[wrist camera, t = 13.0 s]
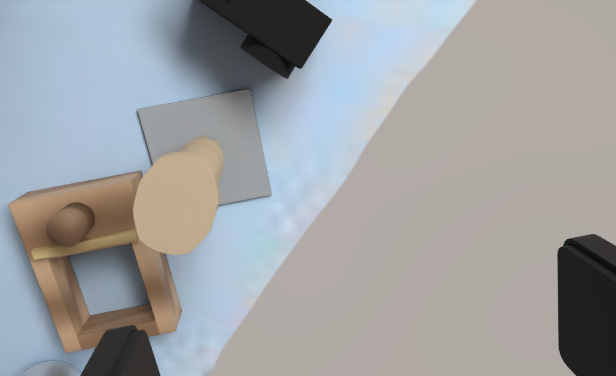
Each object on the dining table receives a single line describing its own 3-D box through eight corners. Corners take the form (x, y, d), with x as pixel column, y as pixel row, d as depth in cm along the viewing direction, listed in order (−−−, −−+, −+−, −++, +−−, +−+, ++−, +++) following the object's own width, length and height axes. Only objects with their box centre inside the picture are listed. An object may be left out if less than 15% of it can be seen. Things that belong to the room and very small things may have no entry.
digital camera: (185, 7, 40) (168, 0, 33) (218, -51, 39) (208, -71, 32) (288, 77, 42) (292, 83, 36) (322, 23, 41) (333, 20, 35)
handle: (171, 177, 44) (123, 242, 29) (189, 110, 42) (148, 145, 28) (222, 192, 44) (200, 263, 30) (242, 127, 43) (229, 169, 28)
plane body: (28, 191, 43) (-12, 216, 37) (141, 170, 44) (120, 191, 37) (79, 331, 48) (52, 374, 42) (181, 311, 48) (169, 350, 42)
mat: (138, 109, 42) (137, 109, 42) (249, 88, 42) (249, 88, 42) (167, 213, 45) (166, 214, 45) (271, 193, 45) (271, 194, 45)
